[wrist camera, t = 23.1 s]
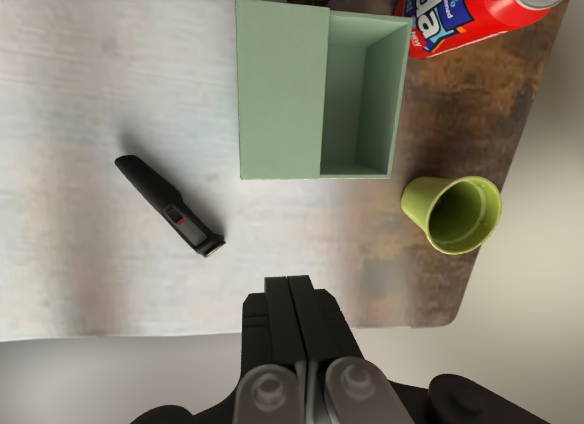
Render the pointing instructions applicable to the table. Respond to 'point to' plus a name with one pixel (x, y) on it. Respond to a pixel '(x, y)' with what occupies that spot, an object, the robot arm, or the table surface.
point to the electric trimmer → (169, 205)
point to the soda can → (465, 21)
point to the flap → (281, 88)
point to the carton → (361, 94)
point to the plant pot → (453, 211)
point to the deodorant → (310, 2)
